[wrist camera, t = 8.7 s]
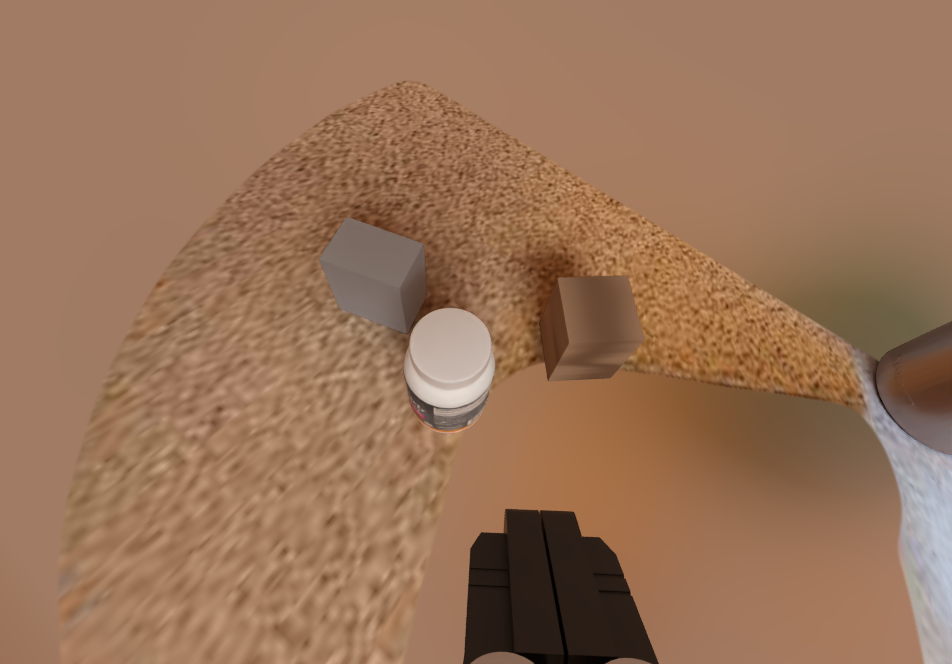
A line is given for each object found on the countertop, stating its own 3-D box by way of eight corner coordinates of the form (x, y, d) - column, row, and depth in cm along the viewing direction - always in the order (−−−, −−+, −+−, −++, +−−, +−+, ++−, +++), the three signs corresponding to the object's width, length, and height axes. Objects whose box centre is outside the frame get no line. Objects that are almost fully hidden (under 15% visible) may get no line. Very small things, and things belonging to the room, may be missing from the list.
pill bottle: (402, 374, 35) (387, 312, 26) (473, 354, 36) (482, 288, 28) (421, 445, 33) (413, 403, 24) (496, 422, 34) (515, 373, 25)
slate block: (427, 294, 39) (423, 243, 32) (407, 334, 37) (399, 288, 31) (362, 271, 39) (346, 216, 33) (339, 309, 38) (318, 259, 31)
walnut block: (598, 321, 38) (627, 275, 32) (610, 378, 36) (644, 340, 30) (539, 324, 38) (557, 277, 32) (547, 381, 36) (569, 343, 30)
